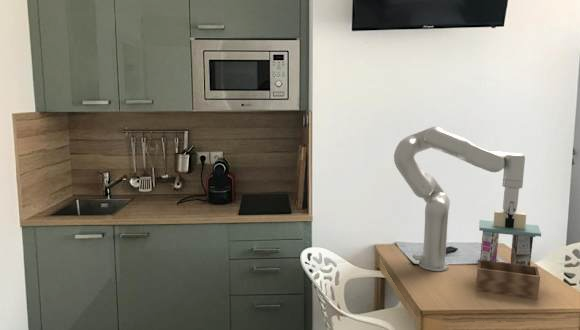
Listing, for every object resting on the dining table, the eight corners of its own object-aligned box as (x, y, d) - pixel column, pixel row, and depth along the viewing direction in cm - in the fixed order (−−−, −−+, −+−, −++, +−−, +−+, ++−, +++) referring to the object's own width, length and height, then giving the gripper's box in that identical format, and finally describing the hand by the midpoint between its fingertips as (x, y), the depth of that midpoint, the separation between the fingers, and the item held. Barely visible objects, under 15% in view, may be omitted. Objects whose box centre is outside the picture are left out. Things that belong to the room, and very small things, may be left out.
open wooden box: (476, 290, 198) (477, 268, 197) (476, 279, 209) (478, 259, 207) (537, 299, 191) (540, 277, 189) (534, 288, 201) (537, 266, 199)
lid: (479, 232, 208) (480, 213, 207) (479, 224, 219) (480, 206, 218) (540, 238, 200) (542, 219, 199) (537, 230, 211) (539, 211, 210)
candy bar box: (490, 266, 224) (493, 230, 221) (479, 263, 227) (482, 228, 224) (497, 258, 233) (500, 224, 230) (486, 256, 236) (489, 222, 233)
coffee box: (530, 271, 218) (533, 235, 216) (514, 270, 220) (517, 234, 217) (525, 263, 227) (528, 229, 224) (509, 262, 229) (513, 228, 226)
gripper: (501, 178, 215) (498, 220, 218) (503, 186, 200) (499, 230, 203) (521, 180, 212) (517, 222, 215) (524, 188, 197) (520, 233, 200)
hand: (508, 226), depth 209 cm, fingers closed on lid, 3 cm apart
